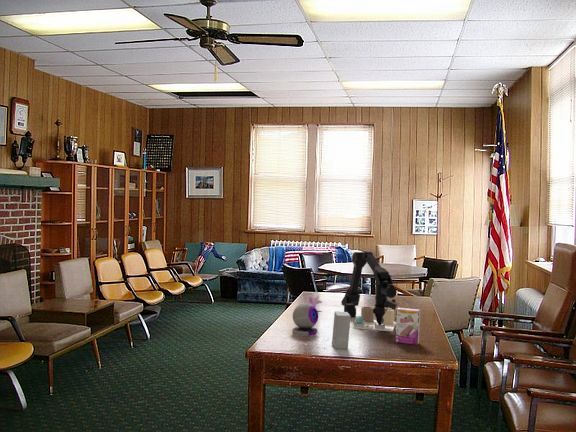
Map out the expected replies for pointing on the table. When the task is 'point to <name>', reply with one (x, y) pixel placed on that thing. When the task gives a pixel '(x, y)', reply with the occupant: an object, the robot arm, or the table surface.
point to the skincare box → (341, 330)
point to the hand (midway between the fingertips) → (380, 324)
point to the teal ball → (359, 319)
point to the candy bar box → (407, 326)
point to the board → (371, 323)
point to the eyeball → (305, 319)
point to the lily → (312, 301)
